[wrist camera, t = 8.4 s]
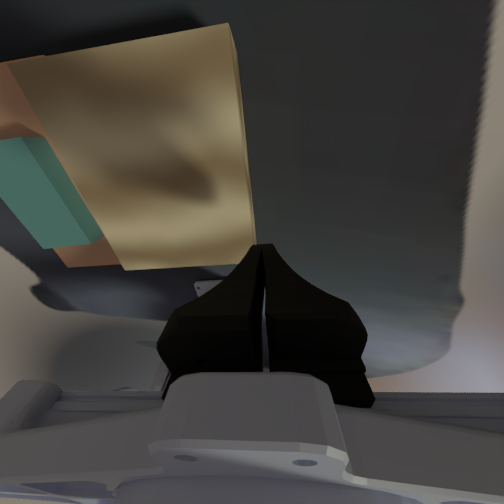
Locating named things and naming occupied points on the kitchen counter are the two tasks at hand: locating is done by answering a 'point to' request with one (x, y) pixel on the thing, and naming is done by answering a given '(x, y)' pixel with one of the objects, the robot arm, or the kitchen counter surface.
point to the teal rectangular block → (44, 194)
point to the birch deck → (153, 143)
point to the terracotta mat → (27, 125)
